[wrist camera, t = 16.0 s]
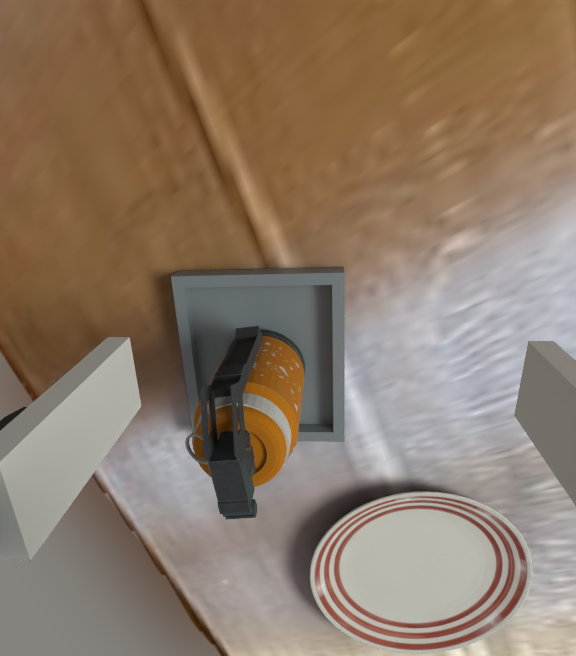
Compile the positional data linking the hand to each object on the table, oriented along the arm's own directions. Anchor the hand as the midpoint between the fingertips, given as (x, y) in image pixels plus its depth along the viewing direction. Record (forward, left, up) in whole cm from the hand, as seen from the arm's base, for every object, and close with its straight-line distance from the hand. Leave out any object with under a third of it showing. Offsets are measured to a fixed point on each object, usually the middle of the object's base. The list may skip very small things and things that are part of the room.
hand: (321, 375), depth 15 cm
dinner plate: (+43, +11, -33) cm, 55 cm away
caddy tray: (+13, -7, -32) cm, 36 cm away
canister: (+13, -7, -32) cm, 35 cm away
